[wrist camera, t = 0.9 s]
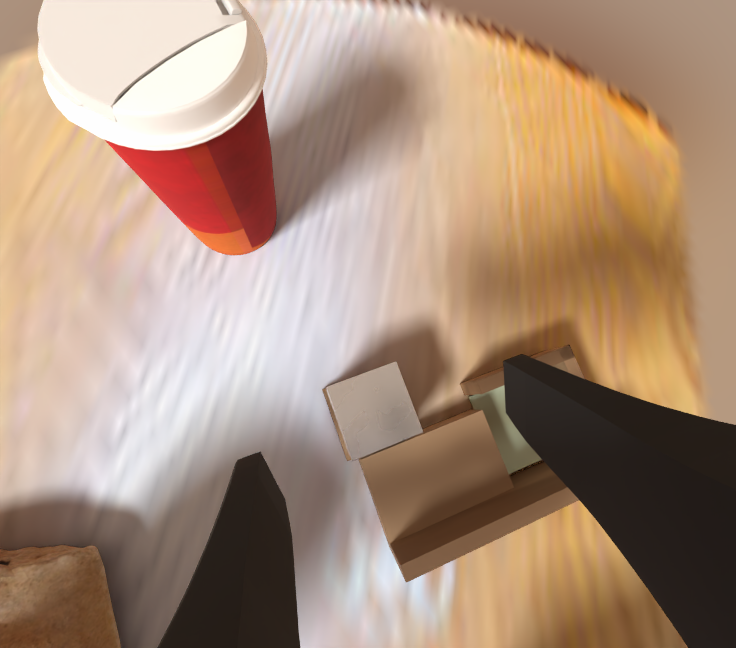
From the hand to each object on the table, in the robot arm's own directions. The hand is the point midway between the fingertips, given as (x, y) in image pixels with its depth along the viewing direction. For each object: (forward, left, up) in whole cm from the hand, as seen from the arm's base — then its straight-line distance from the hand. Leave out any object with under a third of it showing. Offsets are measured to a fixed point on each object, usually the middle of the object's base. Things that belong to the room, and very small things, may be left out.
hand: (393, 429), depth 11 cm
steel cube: (0, -1, -14) cm, 14 cm away
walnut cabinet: (-3, -6, -14) cm, 16 cm away
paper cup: (+15, +3, -15) cm, 21 cm away
